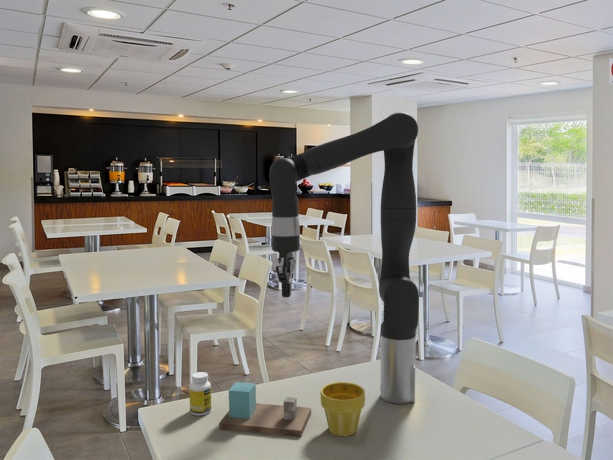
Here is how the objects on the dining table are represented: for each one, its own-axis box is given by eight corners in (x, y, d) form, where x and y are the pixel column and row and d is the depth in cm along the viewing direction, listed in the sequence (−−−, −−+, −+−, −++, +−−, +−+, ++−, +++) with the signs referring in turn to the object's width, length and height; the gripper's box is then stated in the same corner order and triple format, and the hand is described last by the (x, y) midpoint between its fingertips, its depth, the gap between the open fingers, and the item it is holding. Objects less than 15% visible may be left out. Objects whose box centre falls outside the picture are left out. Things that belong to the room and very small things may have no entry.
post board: (311, 413, 136) (311, 390, 136) (301, 436, 125) (300, 411, 124) (235, 407, 140) (235, 385, 140) (219, 429, 129) (218, 404, 128)
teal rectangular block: (256, 409, 135) (255, 383, 135) (249, 419, 130) (249, 392, 130) (236, 407, 136) (235, 382, 136) (229, 417, 131) (228, 390, 131)
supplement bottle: (206, 417, 135) (205, 379, 134) (186, 415, 136) (185, 378, 135) (214, 407, 140) (213, 371, 139) (195, 406, 141) (193, 370, 140)
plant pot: (341, 445, 120) (341, 403, 119) (312, 428, 128) (311, 389, 127) (373, 431, 127) (374, 391, 126) (343, 415, 135) (343, 378, 134)
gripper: (293, 236, 137) (294, 303, 139) (304, 230, 150) (304, 291, 152) (265, 236, 139) (266, 301, 141) (278, 230, 152) (279, 290, 154)
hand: (286, 296), depth 147 cm, fingers closed
